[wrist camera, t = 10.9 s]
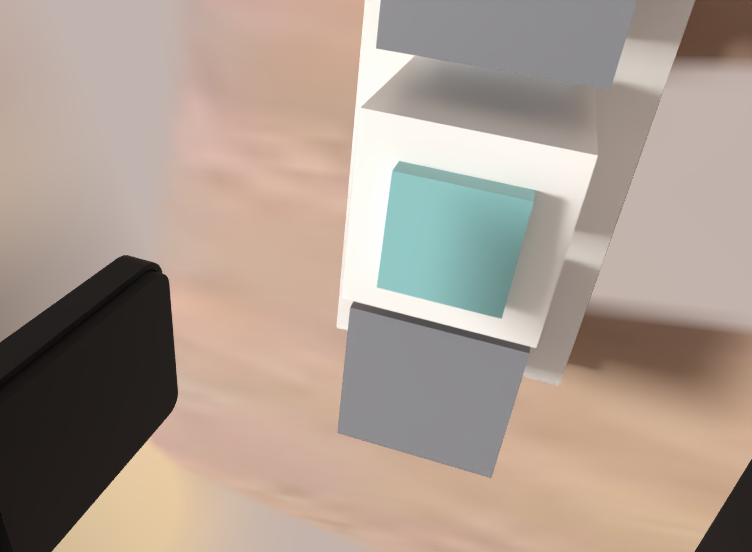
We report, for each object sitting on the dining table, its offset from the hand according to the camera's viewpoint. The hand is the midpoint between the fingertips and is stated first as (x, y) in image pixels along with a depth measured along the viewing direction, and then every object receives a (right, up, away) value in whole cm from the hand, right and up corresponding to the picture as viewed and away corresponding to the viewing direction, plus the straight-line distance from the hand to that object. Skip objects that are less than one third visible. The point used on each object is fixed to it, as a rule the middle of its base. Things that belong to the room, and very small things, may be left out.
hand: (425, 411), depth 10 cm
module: (+3, +6, +9) cm, 11 cm away
